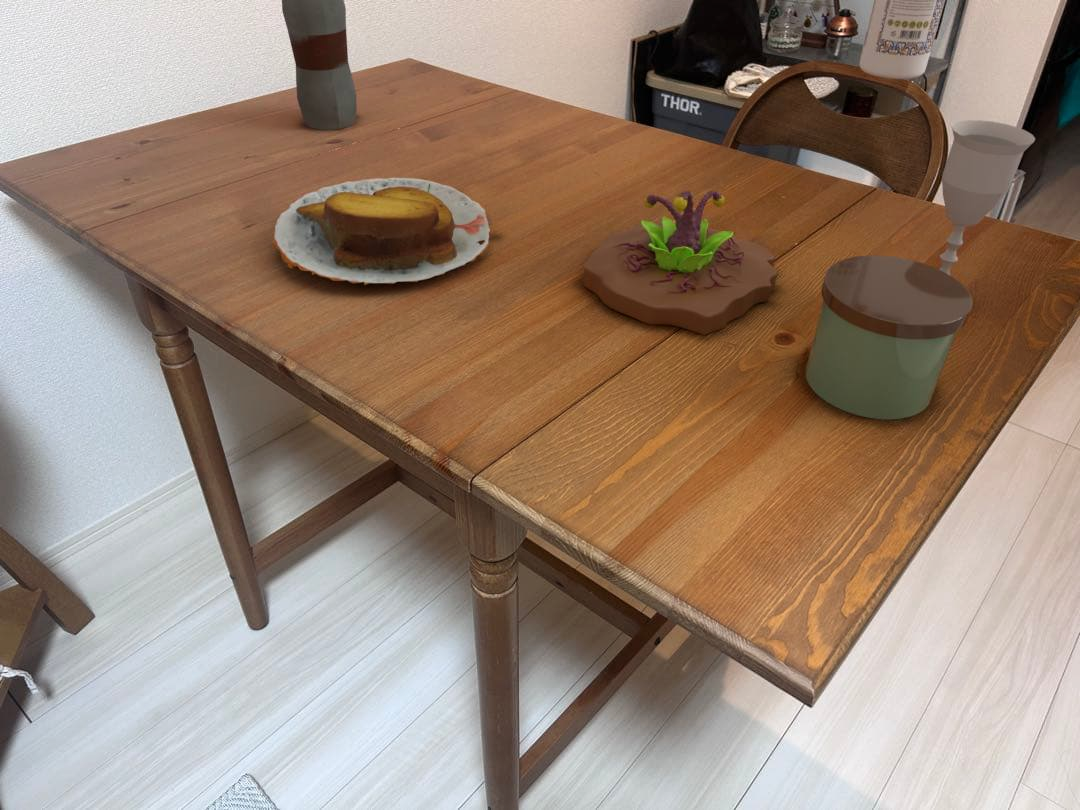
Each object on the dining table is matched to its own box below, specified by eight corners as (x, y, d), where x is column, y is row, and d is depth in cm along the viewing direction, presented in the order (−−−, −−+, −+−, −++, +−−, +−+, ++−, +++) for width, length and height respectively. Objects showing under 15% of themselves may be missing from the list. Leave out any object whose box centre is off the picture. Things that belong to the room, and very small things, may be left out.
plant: (553, 292, 88) (555, 193, 81) (639, 227, 101) (648, 138, 94) (723, 351, 79) (742, 247, 72) (794, 272, 92) (816, 177, 85)
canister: (959, 385, 75) (998, 291, 69) (893, 441, 69) (929, 342, 63) (845, 332, 82) (870, 242, 76) (775, 378, 76) (797, 284, 70)
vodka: (300, 113, 133) (265, -101, 115) (357, 110, 135) (331, -102, 117) (301, 133, 126) (263, -92, 108) (361, 129, 128) (333, -93, 110)
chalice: (980, 298, 88) (1045, 133, 77) (956, 322, 84) (1021, 151, 73) (914, 275, 92) (967, 115, 81) (888, 297, 88) (940, 132, 77)
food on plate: (468, 191, 109) (466, 142, 105) (516, 279, 91) (516, 224, 86) (272, 211, 103) (262, 161, 99) (281, 310, 85) (269, 253, 81)
